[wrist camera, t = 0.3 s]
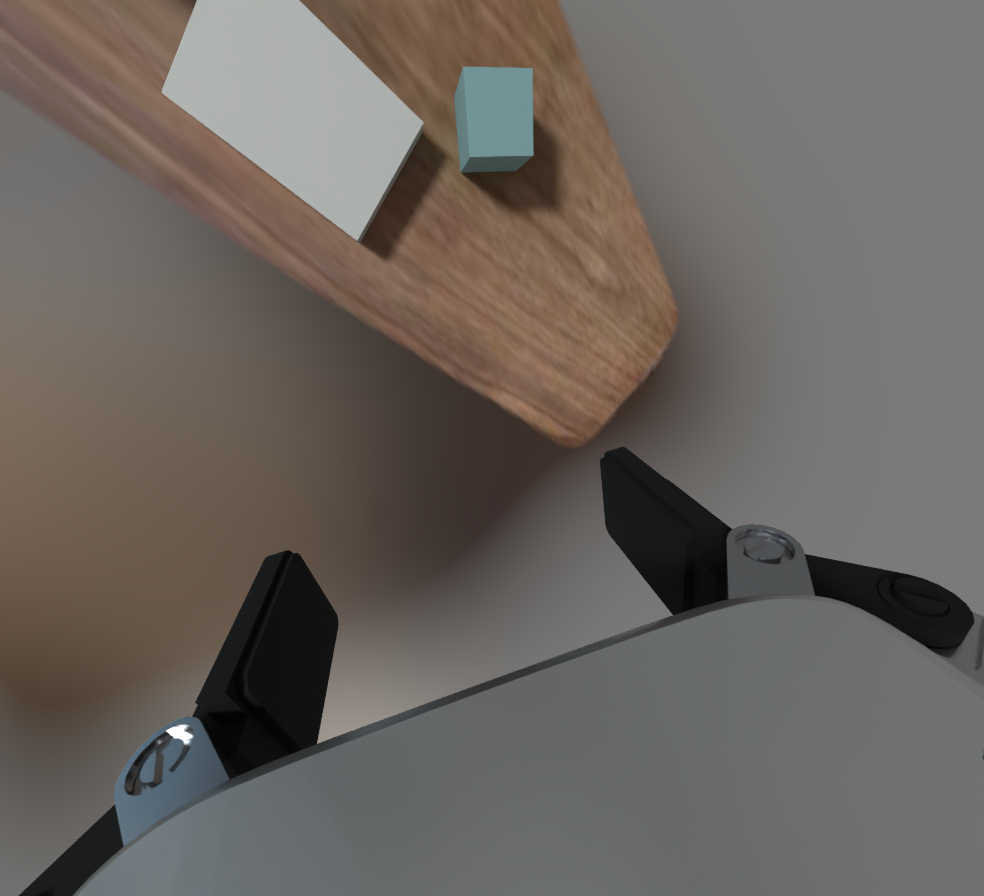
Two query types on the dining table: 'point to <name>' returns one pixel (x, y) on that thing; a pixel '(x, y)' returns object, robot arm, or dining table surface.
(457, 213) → the dining table surface
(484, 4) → the dining table surface
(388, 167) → the plate
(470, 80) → the teal cube
